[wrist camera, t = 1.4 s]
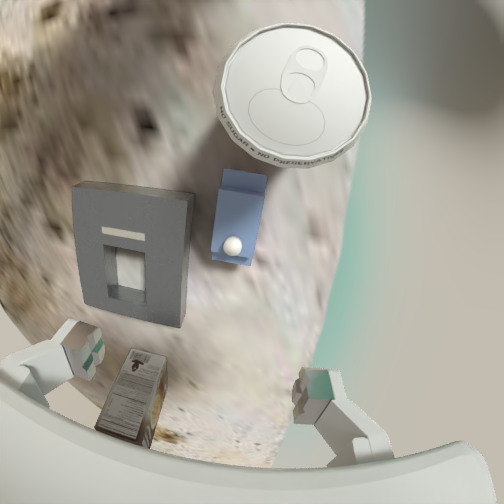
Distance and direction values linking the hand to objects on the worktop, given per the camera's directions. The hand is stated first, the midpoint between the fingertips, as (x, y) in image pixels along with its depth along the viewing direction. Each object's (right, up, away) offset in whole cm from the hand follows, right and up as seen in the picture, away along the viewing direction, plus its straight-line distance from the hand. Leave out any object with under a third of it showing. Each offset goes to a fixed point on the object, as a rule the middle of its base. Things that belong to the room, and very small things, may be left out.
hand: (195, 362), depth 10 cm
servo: (+1, +9, +19) cm, 21 cm away
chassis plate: (-12, +4, +21) cm, 25 cm away
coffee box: (-15, -15, +31) cm, 38 cm away
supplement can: (+5, +18, +14) cm, 24 cm away
